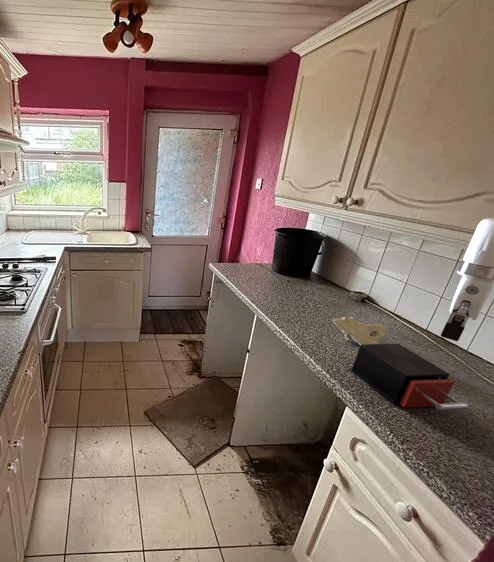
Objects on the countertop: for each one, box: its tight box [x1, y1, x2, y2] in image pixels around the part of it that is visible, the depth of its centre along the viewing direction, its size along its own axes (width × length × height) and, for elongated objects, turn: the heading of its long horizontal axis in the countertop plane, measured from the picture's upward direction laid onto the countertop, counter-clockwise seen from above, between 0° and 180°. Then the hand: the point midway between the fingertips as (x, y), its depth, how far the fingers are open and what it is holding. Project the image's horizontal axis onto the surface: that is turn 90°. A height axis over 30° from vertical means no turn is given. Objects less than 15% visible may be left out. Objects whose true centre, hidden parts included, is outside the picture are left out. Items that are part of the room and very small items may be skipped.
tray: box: [398, 377, 469, 411], centre depth 84 cm, size 19×11×8 cm, turn 5°
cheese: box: [332, 316, 391, 346], centre depth 110 cm, size 15×7×15 cm
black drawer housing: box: [351, 343, 450, 406], centre depth 89 cm, size 15×13×10 cm
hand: (451, 332), depth 81 cm, fingers open, 9 cm apart
